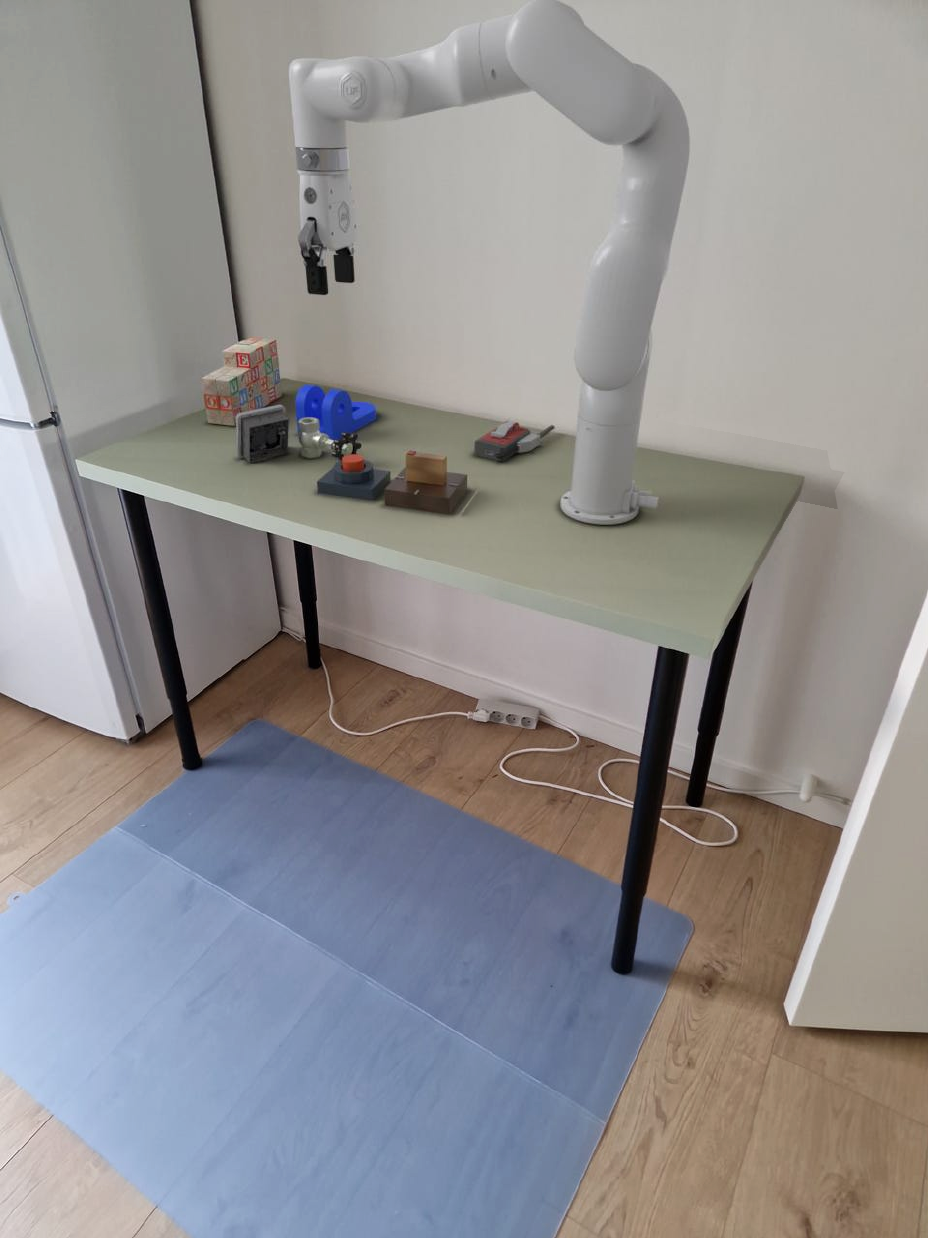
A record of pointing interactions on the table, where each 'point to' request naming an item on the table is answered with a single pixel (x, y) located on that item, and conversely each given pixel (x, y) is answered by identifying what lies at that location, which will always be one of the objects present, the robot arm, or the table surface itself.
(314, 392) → the bracket
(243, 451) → the electrical switch
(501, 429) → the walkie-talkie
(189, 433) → the table surface
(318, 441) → the valve
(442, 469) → the oak handle
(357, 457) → the red button
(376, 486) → the button box
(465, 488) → the handle panel
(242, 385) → the stack of blocks
